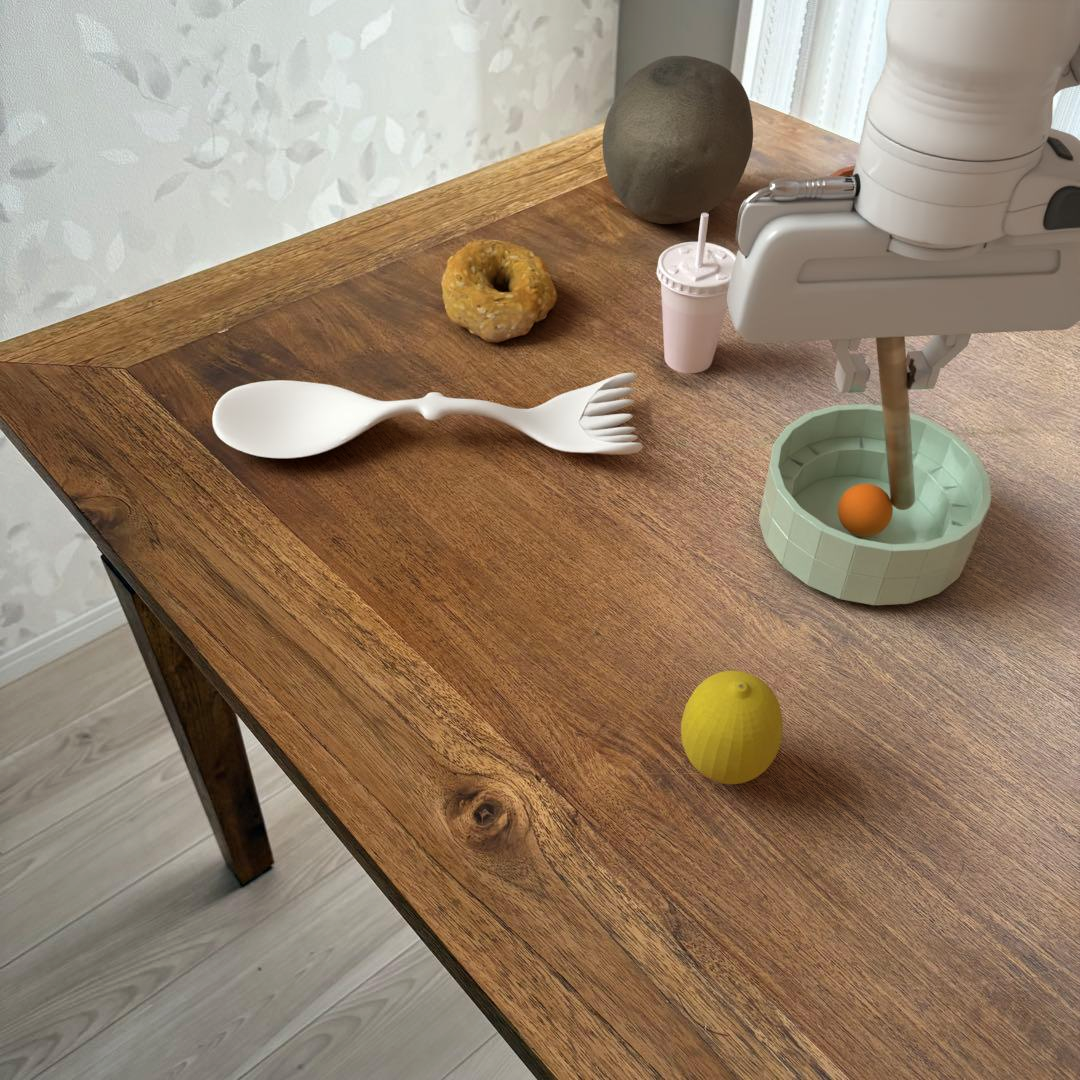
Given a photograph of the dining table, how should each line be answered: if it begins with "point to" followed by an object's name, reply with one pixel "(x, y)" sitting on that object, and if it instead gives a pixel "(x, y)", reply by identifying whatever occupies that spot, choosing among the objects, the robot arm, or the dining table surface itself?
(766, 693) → the lemon
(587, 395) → the spoon
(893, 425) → the stick
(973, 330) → the robot arm
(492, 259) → the bagel
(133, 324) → the dining table surface
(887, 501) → the ball
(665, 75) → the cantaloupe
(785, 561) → the bowl
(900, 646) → the dining table surface
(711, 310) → the smoothie
